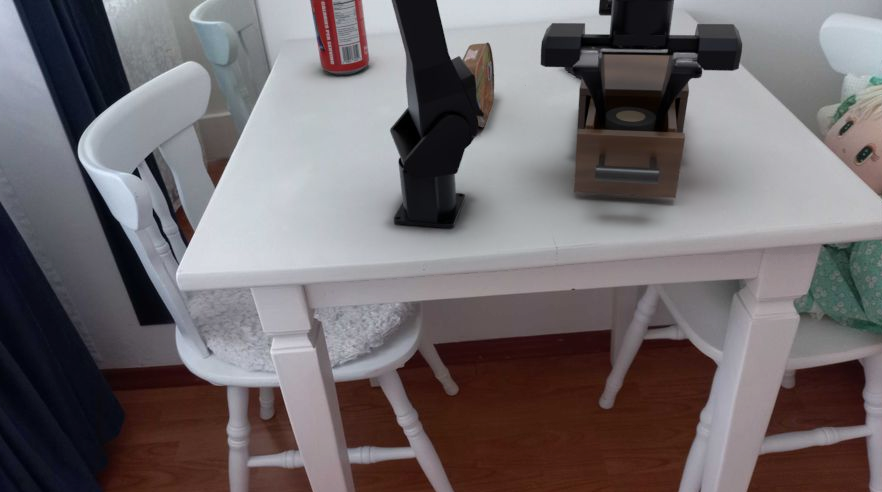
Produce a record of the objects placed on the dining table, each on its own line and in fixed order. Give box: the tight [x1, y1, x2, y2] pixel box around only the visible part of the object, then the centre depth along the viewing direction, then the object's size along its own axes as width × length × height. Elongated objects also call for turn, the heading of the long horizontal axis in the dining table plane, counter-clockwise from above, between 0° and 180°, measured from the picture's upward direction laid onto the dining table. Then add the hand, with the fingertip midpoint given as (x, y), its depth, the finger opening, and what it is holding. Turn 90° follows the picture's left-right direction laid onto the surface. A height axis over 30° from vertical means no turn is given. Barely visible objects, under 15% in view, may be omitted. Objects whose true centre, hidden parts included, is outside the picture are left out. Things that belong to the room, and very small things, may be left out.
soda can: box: [309, 0, 370, 76], centre depth 109 cm, size 8×8×15 cm
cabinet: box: [575, 54, 690, 145], centre depth 84 cm, size 14×12×9 cm
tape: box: [604, 107, 656, 132], centre depth 74 cm, size 5×5×4 cm
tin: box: [462, 42, 495, 128], centre depth 93 cm, size 15×3×8 cm, turn 168°
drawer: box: [573, 96, 686, 199], centre depth 74 cm, size 17×10×7 cm, turn 166°
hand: (629, 126), depth 74 cm, fingers closed on tape, 5 cm apart
